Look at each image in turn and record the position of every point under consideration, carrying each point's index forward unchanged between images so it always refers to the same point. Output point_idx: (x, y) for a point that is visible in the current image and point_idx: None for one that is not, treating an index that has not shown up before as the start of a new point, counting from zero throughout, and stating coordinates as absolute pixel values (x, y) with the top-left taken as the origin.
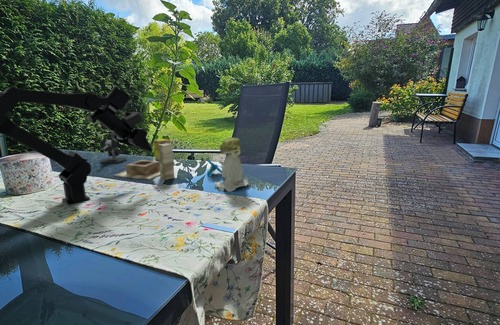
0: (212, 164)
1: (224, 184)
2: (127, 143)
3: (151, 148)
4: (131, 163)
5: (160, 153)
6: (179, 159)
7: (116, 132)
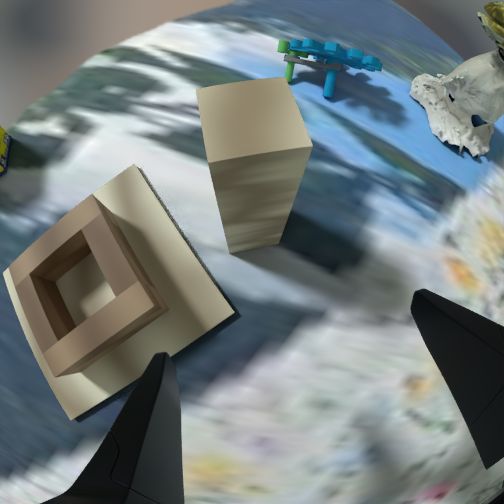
0: (377, 63)
1: (477, 135)
2: (179, 500)
3: (432, 296)
4: (43, 341)
5: (247, 194)
6: (28, 110)
7: None
